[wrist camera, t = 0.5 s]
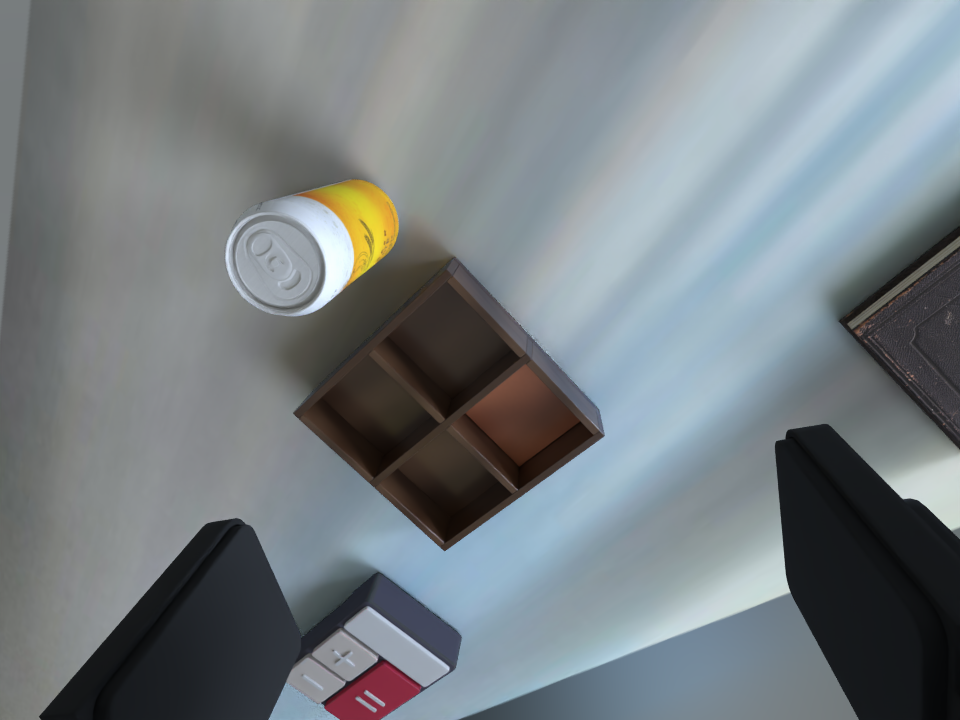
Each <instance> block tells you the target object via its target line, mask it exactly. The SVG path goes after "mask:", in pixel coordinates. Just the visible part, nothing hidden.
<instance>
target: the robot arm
mask: <svg viewBox="0 0 960 720" xmlns="http://www.w3.org/2000/svg"><path fill="white" fill-rule="evenodd" d="M775 455H776V466H777V478H778V489H779V501H780V512H781V524H782V535H783V547H784V558H785V570H786V578H787V582H788V585H789V589H790V591H791V594H792V596H793V598H794V600H795V602H796V604H797V606H798V608H799V609H800V611H801V613H802V615H803V617H804V619H805V621H806V622H807V624H808V626H809V628H810V630H811V632H812V634H813V636H814V637H815V639H816V641H817V643H818V645H819V646H820V648H821V650H822V652H823V654H824V656H825V658H826V660H827V661H828V663H829V665H830V667H831V669H832V671H833V672H834V674H835V676H836V678H837V680H838V682H839V684H840V685H841V687H842V689H843V691H844V693H845V695H846V696H847V698H848V700H849V702H850V704H851V706H852V707H853V709H854V711H855V713H856V715H857V717H858V719H859V720H960V539H959V538H958V537H957V536H955V534H953V532H952V531H951V530H950V529H948V528H947V527H946V526H945V525H944V524H943V523H942V522H941V521H940V520H939V519H938V518H937V517H936V516H935V515H934V514H933V513H932V512H931V511H930V510H929V509H928V508H927V507H926V506H924V505H923V504H922V503H920V502H919V501H918V500H914V499H902V498H901V497H900V496H899V495H898V494H897V493H896V492H895V491H894V490H893V489H892V488H891V487H890V486H889V485H888V484H887V483H886V482H885V481H884V480H883V479H882V478H881V477H880V476H879V475H878V474H877V473H876V472H875V471H874V470H873V469H872V468H871V467H870V466H869V465H868V464H867V463H866V462H865V461H864V460H863V459H862V458H861V457H860V456H859V455H858V454H857V453H856V452H855V451H854V450H853V449H852V448H851V447H850V446H849V444H848V443H847V442H846V441H845V440H844V439H843V438H842V437H841V436H840V435H839V434H838V433H837V432H836V431H835V430H834V429H833V428H832V427H831V426H829V425H828V424H821V425H815V426H809V427H802V428H796V429H790V430H788V431H787V432H786V439H785V440H779V441H776V443H775ZM300 648H301V635H300V632H299V629H298V627H297V625H296V622H295V620H294V618H293V616H292V614H291V611H290V609H289V607H288V605H287V602H286V600H285V598H284V596H283V593H282V591H281V589H280V587H279V585H278V582H277V580H276V578H275V576H274V573H273V571H272V569H271V567H270V564H269V562H268V560H267V558H266V556H265V553H264V551H263V549H262V547H261V544H260V542H259V540H258V538H257V535H256V533H255V531H254V529H253V528H252V527H251V526H250V525H246V524H245V523H244V522H243V521H242V520H241V519H237V518H235V519H229V520H223V521H216V522H211V523H207V524H206V525H205V526H203V527H202V528H201V530H200V531H199V532H198V533H197V534H196V535H195V537H194V538H193V539H192V540H191V541H190V542H189V544H188V545H187V546H186V547H185V548H184V549H183V550H182V552H181V553H180V554H179V555H178V556H177V557H176V559H175V560H174V561H173V562H172V563H171V564H170V566H169V567H168V568H167V569H166V570H165V571H164V572H163V574H162V575H161V576H160V577H159V578H158V579H157V581H156V582H155V583H154V584H153V585H152V586H151V588H150V589H149V590H148V591H147V592H146V593H145V594H144V596H143V597H142V598H141V599H140V600H139V601H138V603H137V604H136V605H135V606H134V607H133V608H132V610H131V611H130V612H129V613H128V614H127V615H126V616H125V618H124V619H123V620H122V621H121V622H120V623H119V625H118V626H117V627H116V628H115V629H114V630H113V632H112V633H111V634H110V635H109V636H108V637H107V639H106V640H105V641H104V642H103V643H102V644H101V645H100V647H99V648H98V649H97V650H96V651H95V652H94V654H93V655H92V656H91V657H90V658H89V659H88V661H87V662H86V663H85V664H84V665H83V666H82V667H81V669H80V670H79V671H78V672H77V673H76V674H75V676H74V677H73V678H72V679H71V680H70V681H69V683H68V684H67V685H66V686H65V687H64V688H63V689H62V691H61V692H60V693H59V694H58V695H57V696H56V698H55V699H54V700H53V701H52V702H51V703H50V705H49V706H48V707H47V708H46V709H45V710H44V711H43V713H42V714H41V715H40V716H39V717H40V719H41V720H268V719H269V717H270V715H271V713H272V711H273V709H274V707H275V704H276V702H277V700H278V698H279V696H280V694H281V692H282V689H283V687H284V685H285V683H286V681H287V679H288V677H289V674H290V672H291V670H292V668H293V666H294V664H295V662H296V659H297V657H298V655H299V652H300Z"/></svg>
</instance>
